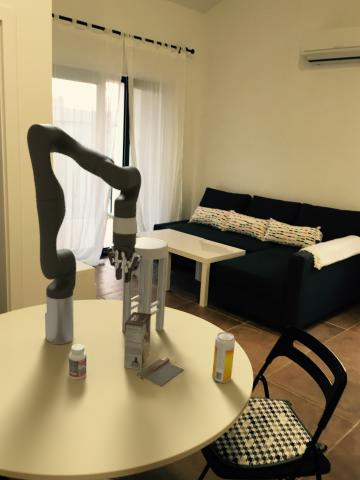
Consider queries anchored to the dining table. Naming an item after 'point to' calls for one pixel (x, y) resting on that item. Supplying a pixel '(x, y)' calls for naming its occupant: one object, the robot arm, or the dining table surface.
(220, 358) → the beer can
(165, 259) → the stool
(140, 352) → the coffee box
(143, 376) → the kerb
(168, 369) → the mat
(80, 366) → the pill bottle
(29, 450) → the dining table surface
